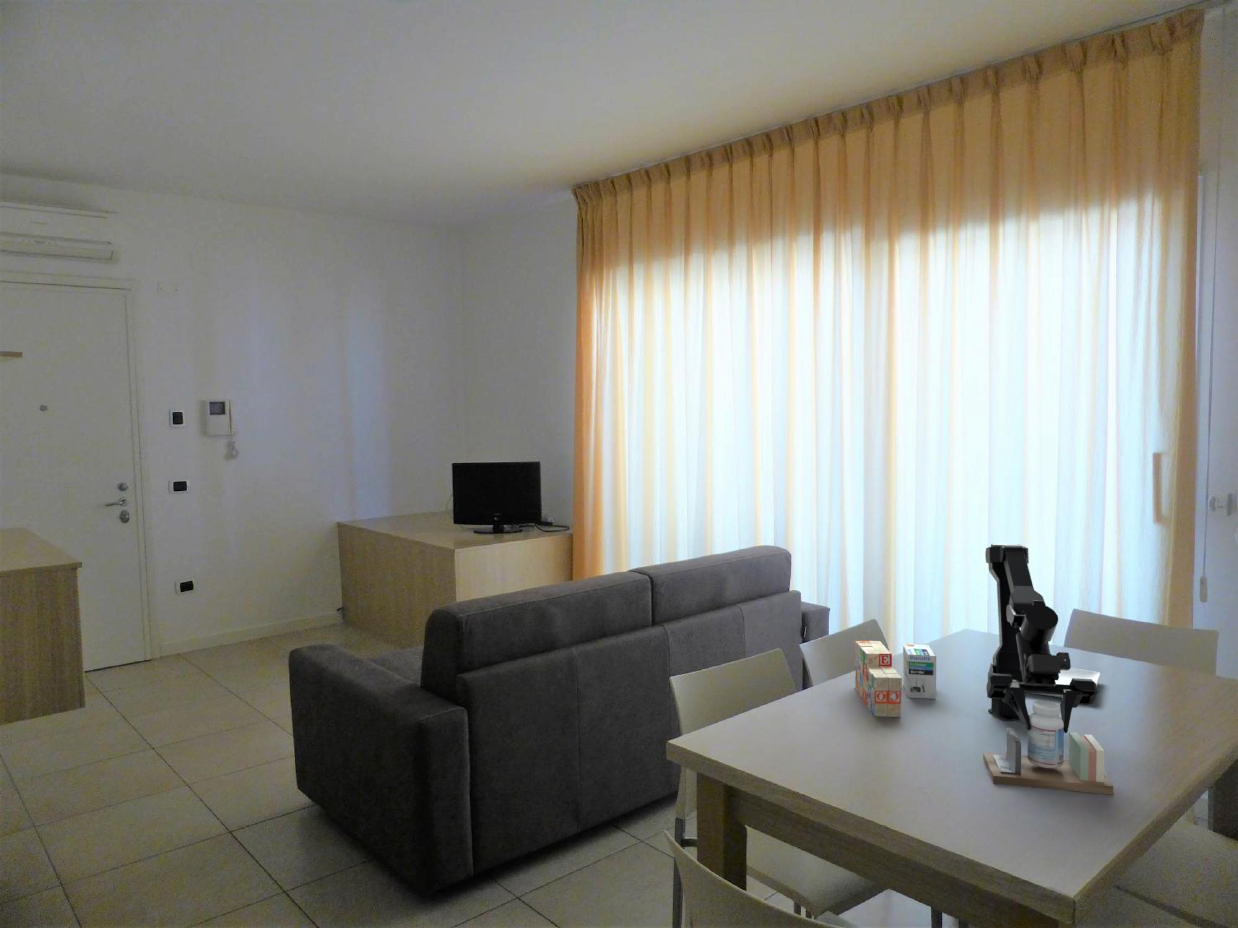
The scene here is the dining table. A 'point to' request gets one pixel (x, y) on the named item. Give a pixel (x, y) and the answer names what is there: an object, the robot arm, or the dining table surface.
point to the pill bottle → (1046, 735)
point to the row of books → (1086, 757)
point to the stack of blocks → (877, 679)
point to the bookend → (1010, 755)
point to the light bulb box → (919, 671)
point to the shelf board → (1045, 777)
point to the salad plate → (1067, 676)
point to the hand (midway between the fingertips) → (1047, 730)
